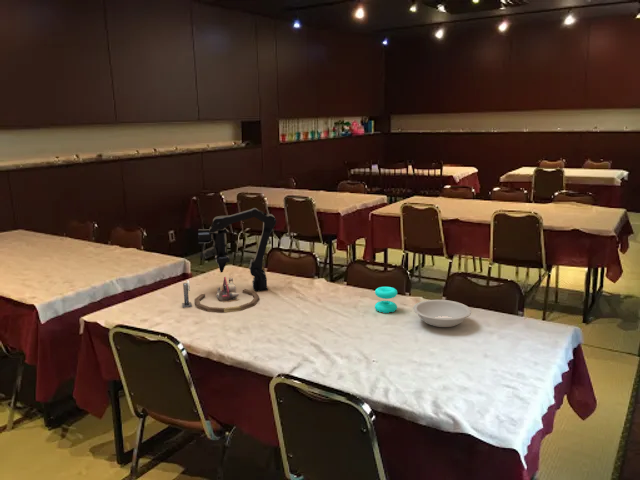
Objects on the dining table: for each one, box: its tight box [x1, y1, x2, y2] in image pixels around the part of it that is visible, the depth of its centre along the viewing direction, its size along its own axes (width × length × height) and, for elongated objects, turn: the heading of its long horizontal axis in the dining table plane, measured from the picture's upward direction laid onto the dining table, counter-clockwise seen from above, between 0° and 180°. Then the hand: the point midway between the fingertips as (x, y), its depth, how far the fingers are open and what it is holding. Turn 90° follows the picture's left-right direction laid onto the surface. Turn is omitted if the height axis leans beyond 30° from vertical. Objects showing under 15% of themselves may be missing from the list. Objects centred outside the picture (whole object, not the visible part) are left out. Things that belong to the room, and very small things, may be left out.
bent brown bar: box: [194, 288, 260, 313], centre depth 261 cm, size 30×26×2 cm
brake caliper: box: [216, 276, 240, 303], centre depth 266 cm, size 11×11×12 cm
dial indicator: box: [181, 279, 193, 309], centre depth 256 cm, size 4×5×12 cm
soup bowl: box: [412, 299, 472, 328], centre depth 231 cm, size 24×24×7 cm
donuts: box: [374, 286, 398, 314], centre depth 247 cm, size 10×10×10 cm
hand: (221, 272), depth 274 cm, fingers closed
